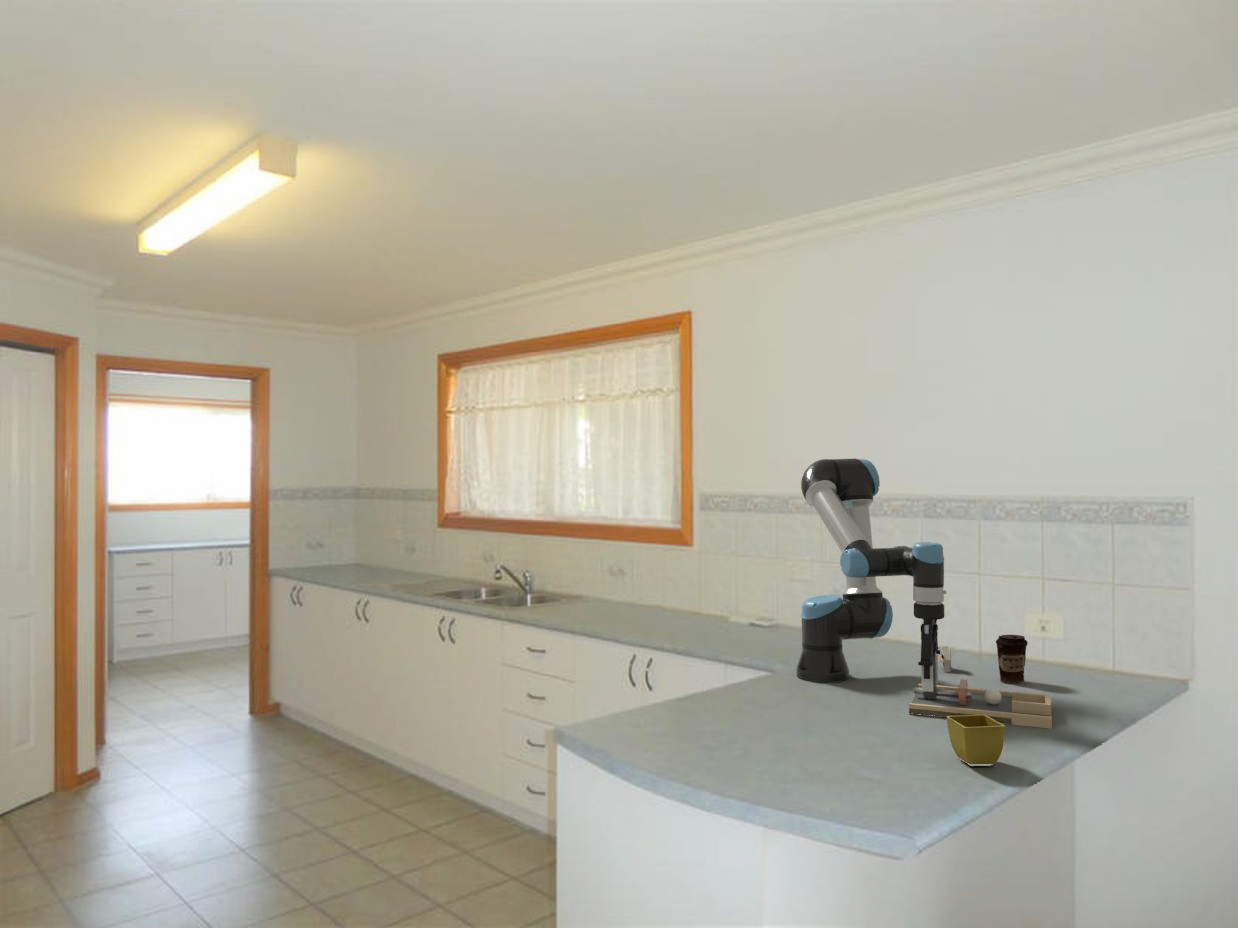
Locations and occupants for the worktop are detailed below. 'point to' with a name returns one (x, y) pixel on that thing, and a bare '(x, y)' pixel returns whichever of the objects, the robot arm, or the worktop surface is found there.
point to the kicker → (960, 694)
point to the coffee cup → (1011, 658)
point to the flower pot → (976, 738)
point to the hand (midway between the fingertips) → (930, 684)
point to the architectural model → (946, 658)
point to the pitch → (989, 707)
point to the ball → (993, 696)
